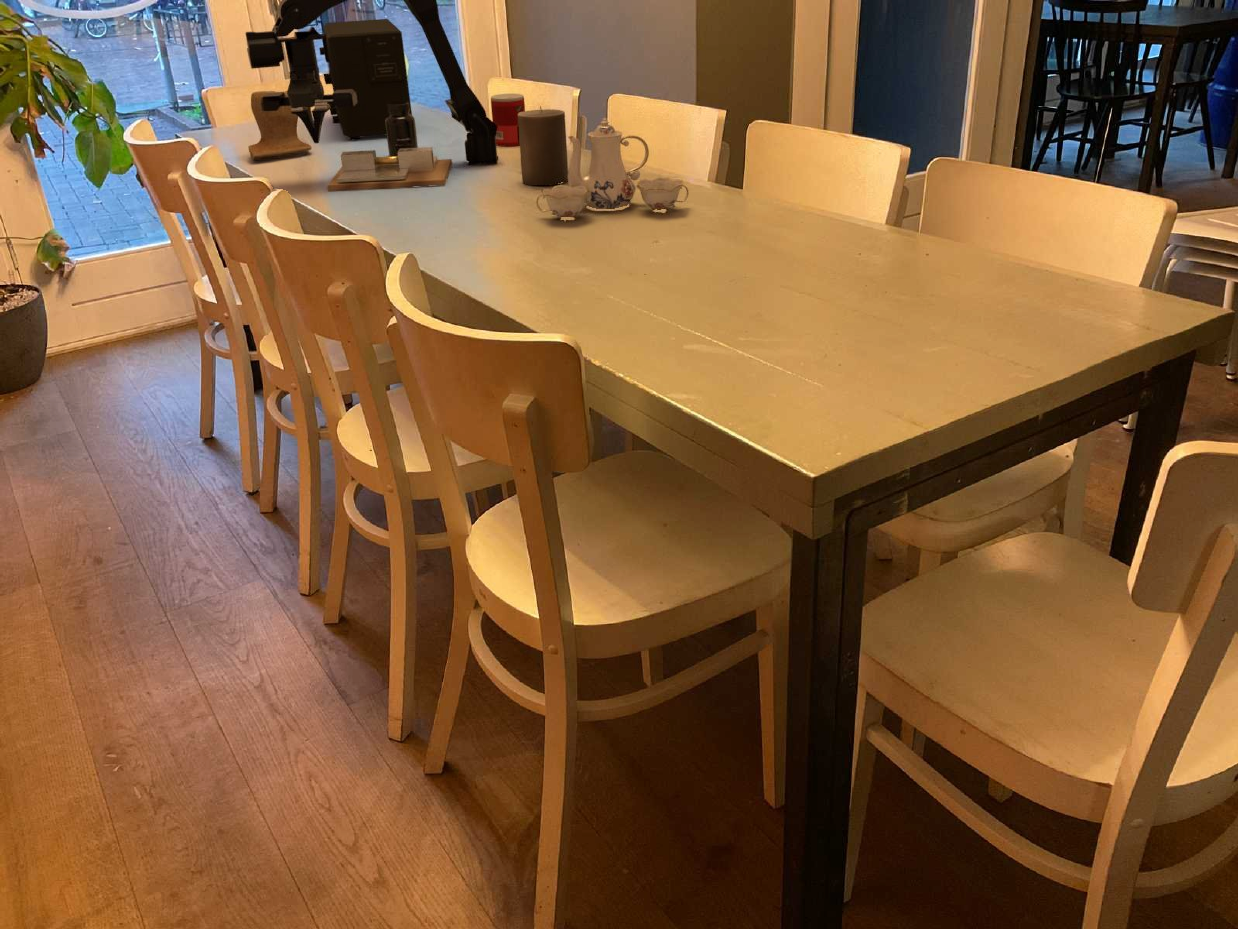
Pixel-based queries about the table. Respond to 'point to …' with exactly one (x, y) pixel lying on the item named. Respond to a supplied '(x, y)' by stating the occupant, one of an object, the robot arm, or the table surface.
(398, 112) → the supplement bottle
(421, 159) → the fixed leaf
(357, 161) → the loose leaf
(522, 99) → the canned food
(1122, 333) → the table surface
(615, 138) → the chinaware
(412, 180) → the board
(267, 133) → the brown chair-shaped stand
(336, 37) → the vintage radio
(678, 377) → the table surface
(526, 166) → the pillar candle
